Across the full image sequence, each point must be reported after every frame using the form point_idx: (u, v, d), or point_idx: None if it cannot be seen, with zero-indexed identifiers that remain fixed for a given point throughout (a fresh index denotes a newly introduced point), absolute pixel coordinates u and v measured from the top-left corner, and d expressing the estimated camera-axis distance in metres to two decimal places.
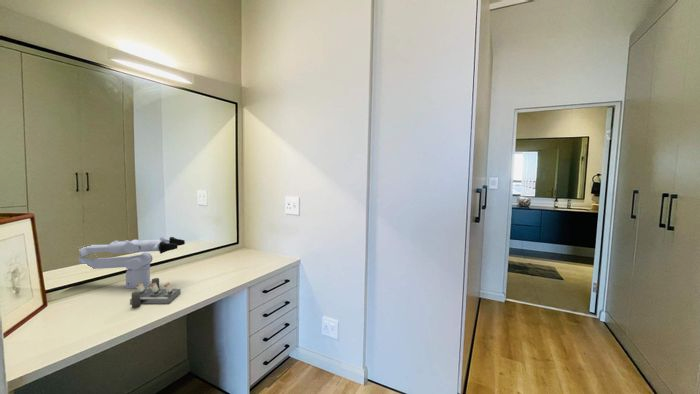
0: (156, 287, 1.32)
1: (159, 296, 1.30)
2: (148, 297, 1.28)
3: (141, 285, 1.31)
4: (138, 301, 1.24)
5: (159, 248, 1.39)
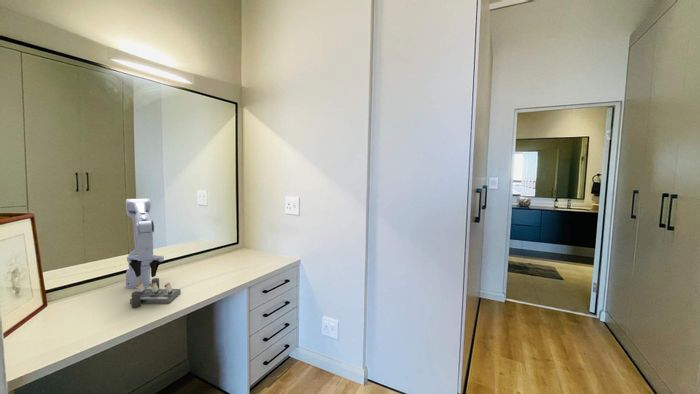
0: (156, 287, 1.32)
1: (159, 296, 1.30)
2: (148, 297, 1.28)
3: (141, 285, 1.31)
4: (138, 301, 1.24)
5: None
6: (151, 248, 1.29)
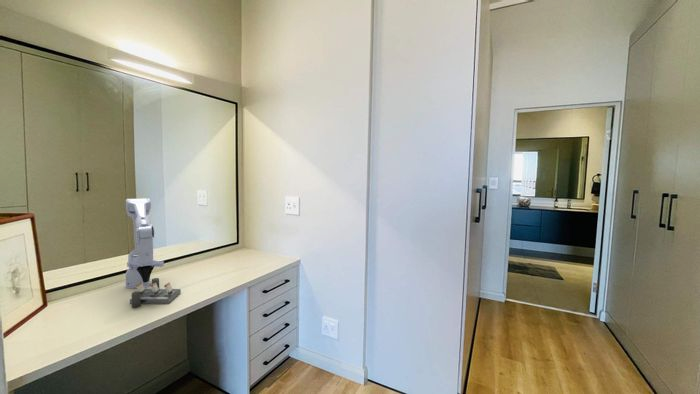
0: (156, 287, 1.32)
1: (159, 296, 1.30)
2: (148, 297, 1.28)
3: (141, 285, 1.31)
4: (138, 301, 1.24)
5: None
6: (151, 253, 1.30)
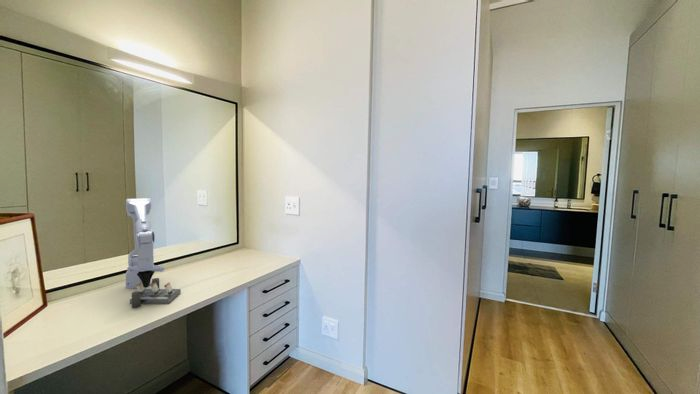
0: (156, 287, 1.32)
1: (159, 296, 1.30)
2: (148, 297, 1.28)
3: (141, 285, 1.31)
4: (138, 301, 1.24)
5: None
6: (151, 258, 1.30)
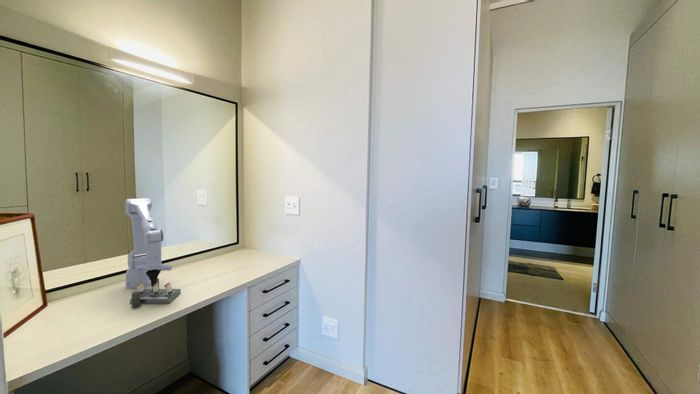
0: (157, 287, 1.32)
1: (159, 296, 1.30)
2: (148, 297, 1.28)
3: (141, 285, 1.31)
4: (138, 301, 1.24)
5: None
6: (159, 257, 1.30)
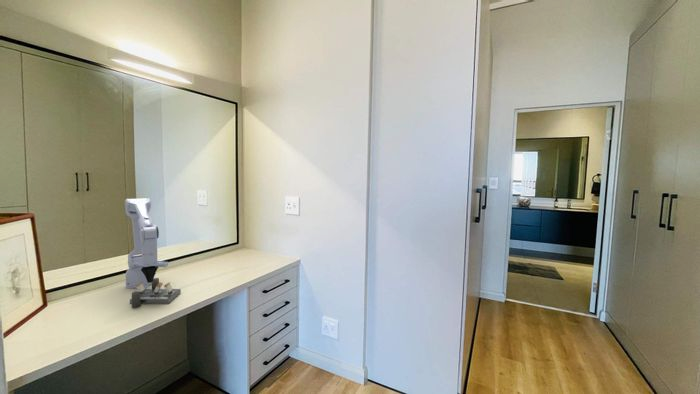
0: (159, 288, 1.32)
1: (159, 296, 1.30)
2: (148, 297, 1.28)
3: (141, 285, 1.31)
4: (138, 301, 1.24)
5: None
6: (155, 254, 1.30)
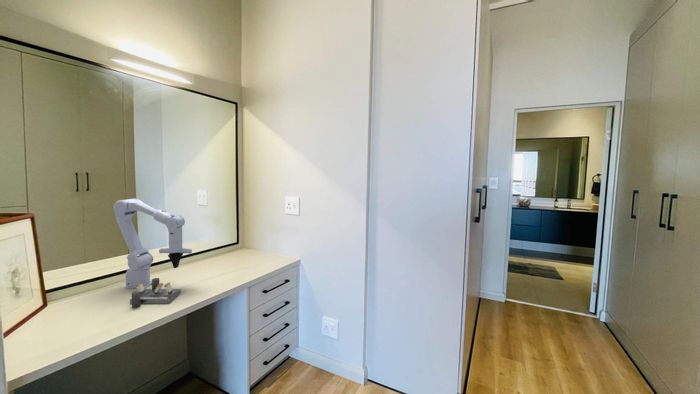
0: (159, 288, 1.32)
1: (159, 296, 1.30)
2: (148, 297, 1.28)
3: (141, 285, 1.31)
4: (138, 301, 1.24)
5: None
6: (181, 241, 1.42)
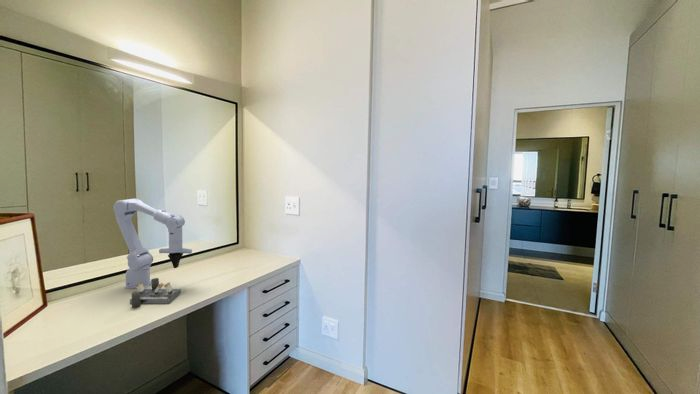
0: (160, 288, 1.32)
1: (159, 296, 1.30)
2: (148, 297, 1.28)
3: (141, 285, 1.31)
4: (138, 301, 1.24)
5: None
6: (181, 241, 1.42)
